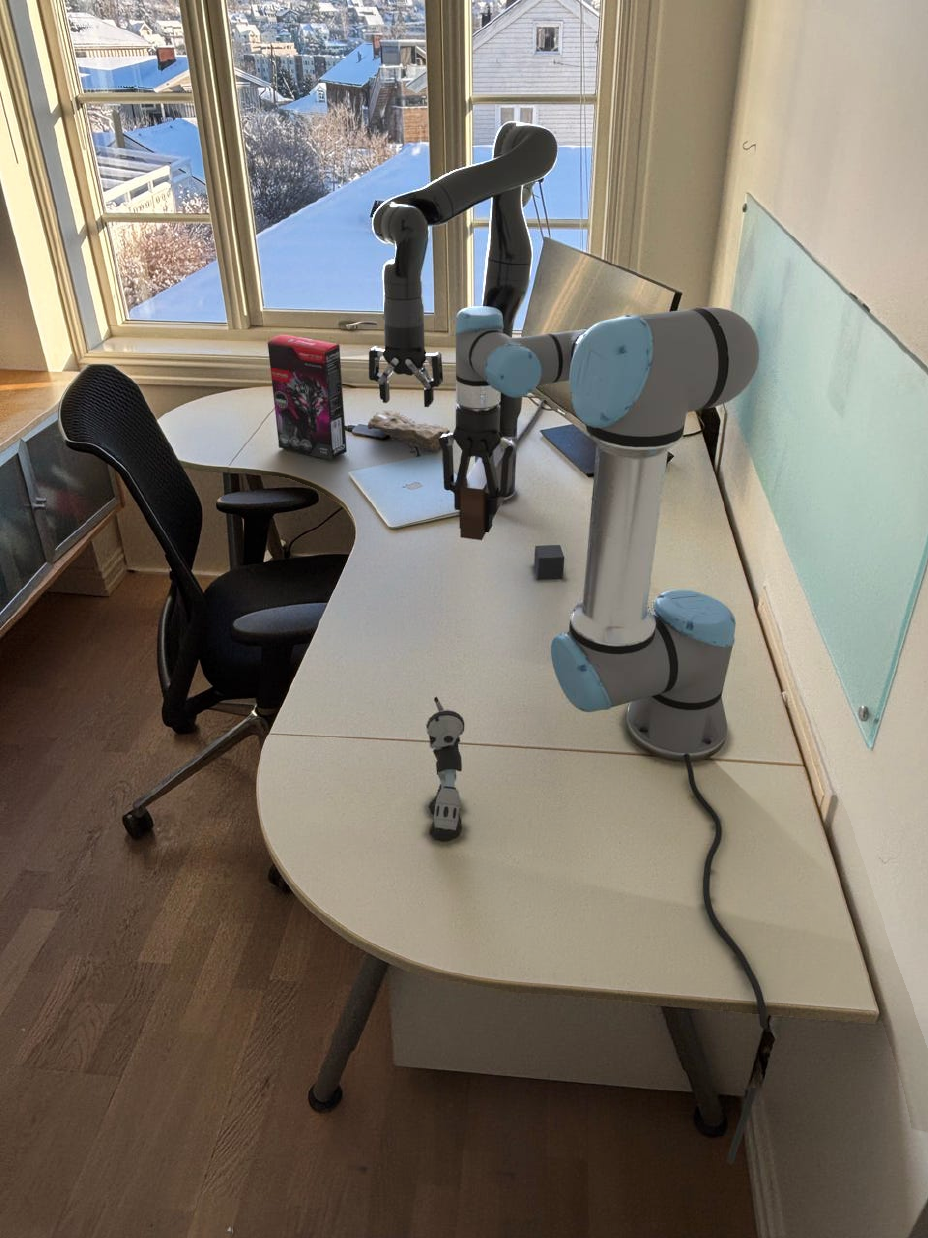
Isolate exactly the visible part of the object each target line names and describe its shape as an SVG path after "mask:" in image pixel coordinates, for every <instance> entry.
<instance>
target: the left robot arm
mask: <svg viewBox="0 0 928 1238" xmlns="http://www.w3.org/2000/svg"><path fill="white" fill-rule="evenodd" d="M492 147H493V148H492V158H491V159H490V160H487V161H484V162H479V163H475V164H472V165H469V166H465V167H462V168H459V169H455V170H453V171H450V172H449V173H446V174H444V175H442V176H440V177H439V178H438V179H435V180H433V181H432V182H430V183H429V184H427V185H426V186H424V187H422V188H420V189H416V190H412V191H409V192H406V193H403V194H400V195H397V196H395V197H394V196H393V197H392V198H389V199H388V200H386V201H384V202H383V203H381V204H380V206H378V208H377V209H376V211H375V212H374V214H373V217H372V224H371V226H372V231H373V233H374V235H375V236H376V238H377V239H378V240H379V241H381V242H382V243H383V244H387V245H390V246H393V247H395V254H394V259H391V260H388V261H387V262H386V263H385V264H384V265H383V267H382V268H383V269H382V283H383V284H382V287H383V305H382V320H383V336H384V337H383V339H384V349H382V348H379V347H378V346H373V347H372V348H371V349H370V350H369V351H368V380H370V381H375V382H376V383H378V388H379V391H378V392H379V399H380V400H382V404H388V403H389V401H390V400H391V398H390V397H391V395H390V381H388V380H389V378H390V377H391V375H392V374H393V373H395V374H396V375H406V376H410V377H411V376H414V377H415V378H416V380H417V381H420V383H421V384H422V386H423V387H424V388H423V403H424V404H423V407H424V408H429V407H430V406H431V405H432V404H433V402H434V400H435V397H434V395H435V394H434V393H435V392H434V391H435V389H434V388H438V387H440V386H441V384H442V383H443V382H444V372H443V358H442V353H441V352H440V351H436V352H435V353H427V350H426V347H425V346H426V345H425V344H426V341H425V307H424V300H423V299H424V298H423V278H422V277H423V275H422V271H423V267H424V264H425V259H426V254H427V251H428V250H427V249H428V245H429V239H430V227H440V226H443V225H445V224H447V223H449V222H451V221H452V220H454V219H455V218H457V217H459V216H461V215H462V214H464V213H465V212H467V211H468V210H469V211H470V209H472V208H474V207H477V206H478V205H479V204H482V203H483V202H486V201H487V200H490V199H491V207H490V218H489V219H490V220H489V231H488V232H489V233H488V241H487V249H486V256H485V265H484V275H483V291H482V301H481V306H486V307H492V308H495V309H498V310H499V311H500V312H501V313H502V316H503V325H504V328H503V333H504V334H506V335H507V336H509V337H510V338H513V332H514V325H515V321H516V318H517V315H518V313H519V311H520V308H521V306H522V304H523V302H524V300H525V298H526V295H527V293H528V291H529V286H530V280H531V274H532V266H533V258H534V257H533V256H534V252H533V251H534V250H533V245H532V239H531V237H530V236H531V235H530V232H529V229H528V226H527V222H526V218H525V215H524V210H523V201H522V200H523V186H524V185H527V184H530V183H534V182H537V181H538V180H541V179H543V178H545V177H546V176H547V175H548V174H549V173H550V172H551V171H552V170H553V168H554V166H556V165H555V164H556V163H557V160H558V159H557V158H558V154H559V145H558V140H557V138H556V136H555V134H554V133H553V132H552V131H551V130H550V129H549V128H546V127H544V126H542V125H538V124H532V123H526V122H521V121H516V120H515V121H514V120H511V121H510V120H509V121H507V122H505V123H504V124H503V125H502V126H500V128H499V129H498V131H497V133H496V136H495V139H494V143H493V146H492ZM382 357H383V358H384V360H385V362H386V363H387V364H388V365H387V366H386V368H385V369H384V371H383V372H382V373H381V372H380V361H381V359H382ZM426 361H427V362H428V364H429V366H430V367H431V368H432V369H431V371H432V376H431V375H430V373H429V370H428V369H427V367H426V365H425V362H426ZM544 402H545V400H543V399H542V398H541V401H540V403H539V404H538V407H537V409H536V411H535V413H534V414H533V416H532V417H531V418H530V419H529V421H528V423H527V424H526V426H525V427H524V428H523V430H522V431H521V433H520V434H519V435H518V424H519V417H520V415H521V412H522V405H523V397H519V398H513V397H509V396H506V395H505V394H503V393H501V399H500V403H499V405H500V432H501V434H502V436H504V437H513V440H514V441H515V442H516V447H515V449H514V451H513V463H512V485H511V487H510V489H509V492H508V493H507V495H506V497H505V498H504V500H503V502H502V504H503V503H507V502H510V501H512V500H513V499H514V498H515V497H516V476H517V475H516V473H517V472H516V471H517V451H518V449H517V447H518V444H519V442H520V441H521V439H522V438H523V436H524V435H525V433H526V432H527V431H528V429H529V428H530V427H531V425H532V424H533V422H534V421H535V419H536V417H537V416H538V414H539V412H540V411H541V409H542V407H543V405H544ZM478 459H479V457H477V456H474V465H475V464H476V462H477V460H478Z"/></svg>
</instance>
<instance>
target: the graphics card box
mask: <svg viewBox="0 0 928 1238" xmlns="http://www.w3.org/2000/svg"><path fill="white" fill-rule="evenodd" d="M340 347H341V346H340V343H335V342H333V343H332V342H328V341H322V340H317V339H311V338H306V337H300V336H295V335H289V334H285V333H282V334H279V335H277V336H274V337H273V338H271V339H270V340H268V341H267V351H268V359H269V367H270V369H269V370H270V377H271V378H270V379H271V385H272V386H271V387H272V395H273V403H274V412H275V413H274V414H275V423H276V433H277V441H278V442H277V443H278V448H279V449H283V450H287V451H288V450H289V451H292V452H297V453H301V454H305V455H309V456H314V457H317V458H322V459H326V460H330V461H333V460H335V459H337V458H339V457H340V456H342V455H344V454H345V453H347V451H348V449H347V447H348V446H347V434H346V420H345V407H344V406H345V405H344V393H343V380H342V364H341V363H342V362H341V349H340Z"/></svg>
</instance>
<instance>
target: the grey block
mask: <svg viewBox="0 0 928 1238" xmlns="http://www.w3.org/2000/svg"><path fill="white" fill-rule="evenodd" d="M562 549H563V548H562V546H561V544H547V545H546V544H544V545H541V544H540V545H534V560H533V569H534V572H535V576H536V580H537V581H556V580H563V579H564V569H565V554H564V551H563V550H562Z"/></svg>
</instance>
